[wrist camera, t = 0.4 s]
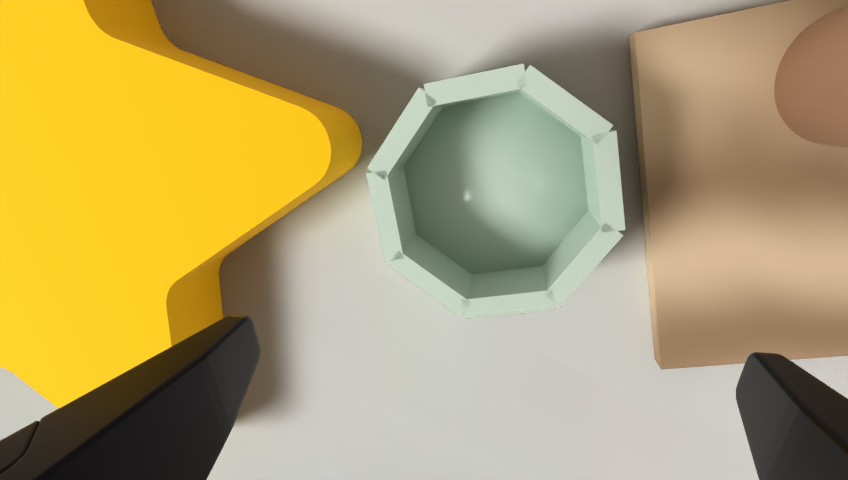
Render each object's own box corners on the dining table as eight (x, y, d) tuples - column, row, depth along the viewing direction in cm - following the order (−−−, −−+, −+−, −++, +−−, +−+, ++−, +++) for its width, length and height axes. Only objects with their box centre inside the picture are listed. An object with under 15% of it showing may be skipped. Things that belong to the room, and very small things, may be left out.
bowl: (611, 269, 22) (631, 301, 18) (414, 292, 23) (397, 325, 20) (590, 57, 20) (609, 46, 16) (377, 100, 21) (350, 98, 18)
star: (-393, -163, 20) (263, -353, 15) (-235, -116, 24) (318, -249, 19) (-125, 465, 27) (377, 492, 22) (-40, 417, 31) (398, 430, 26)
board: (911, 337, 20) (931, 349, 19) (654, 358, 22) (661, 369, 21) (929, -27, 17) (954, -34, 16) (628, 36, 19) (635, 32, 18)
